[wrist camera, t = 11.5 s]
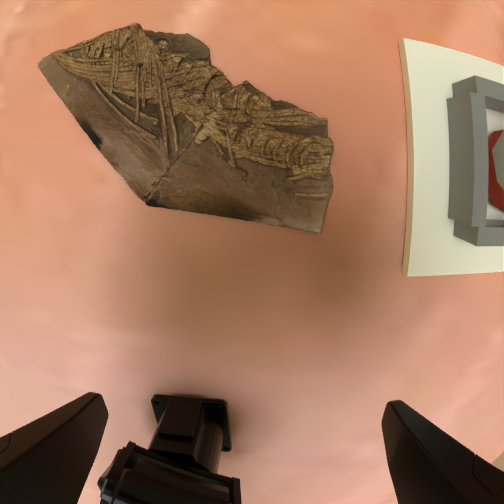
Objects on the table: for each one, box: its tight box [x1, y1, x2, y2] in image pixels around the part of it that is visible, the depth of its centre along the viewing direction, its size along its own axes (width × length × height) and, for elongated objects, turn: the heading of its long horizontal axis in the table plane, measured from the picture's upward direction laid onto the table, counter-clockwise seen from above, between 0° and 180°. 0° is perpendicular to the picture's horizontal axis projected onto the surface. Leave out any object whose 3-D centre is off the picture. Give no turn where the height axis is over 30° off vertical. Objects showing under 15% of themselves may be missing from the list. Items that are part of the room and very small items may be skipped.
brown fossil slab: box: [38, 23, 334, 233], centre depth 18 cm, size 26×11×1 cm, turn 55°
